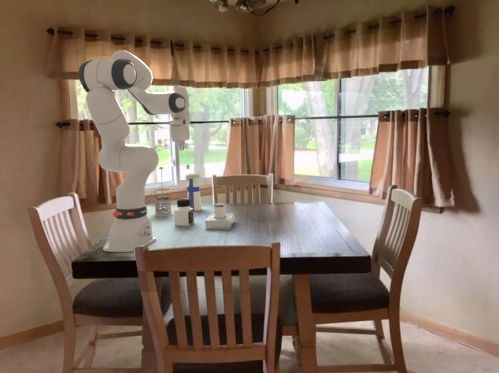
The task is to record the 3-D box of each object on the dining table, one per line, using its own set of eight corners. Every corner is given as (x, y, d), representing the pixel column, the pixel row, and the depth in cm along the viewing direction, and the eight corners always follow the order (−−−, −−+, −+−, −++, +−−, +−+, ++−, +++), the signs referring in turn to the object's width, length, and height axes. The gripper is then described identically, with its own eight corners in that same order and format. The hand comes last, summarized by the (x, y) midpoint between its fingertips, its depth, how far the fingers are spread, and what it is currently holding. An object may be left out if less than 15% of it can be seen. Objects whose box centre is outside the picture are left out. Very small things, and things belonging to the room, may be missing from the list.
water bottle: (183, 210, 224) (181, 164, 220) (190, 207, 232) (188, 163, 228) (197, 211, 221) (195, 164, 217) (203, 208, 229) (202, 163, 225)
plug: (223, 224, 189) (223, 205, 187) (215, 224, 189) (214, 205, 188) (225, 222, 193) (224, 203, 191) (216, 222, 193) (216, 203, 192)
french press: (170, 216, 210) (168, 167, 206) (148, 216, 210) (145, 168, 206) (174, 212, 220) (172, 165, 216) (153, 212, 220) (150, 166, 216)
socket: (229, 229, 184) (229, 218, 183) (205, 229, 185) (205, 218, 184) (234, 221, 197) (233, 211, 197) (211, 221, 198) (211, 211, 198)
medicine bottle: (189, 226, 191) (188, 200, 189) (174, 225, 192) (173, 200, 190) (194, 222, 197) (193, 197, 196) (180, 221, 199) (178, 197, 197)
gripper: (179, 121, 206) (180, 148, 208) (167, 121, 186) (169, 152, 188) (192, 120, 205) (193, 148, 207) (181, 121, 185) (182, 151, 187)
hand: (181, 150), depth 197 cm, fingers closed
